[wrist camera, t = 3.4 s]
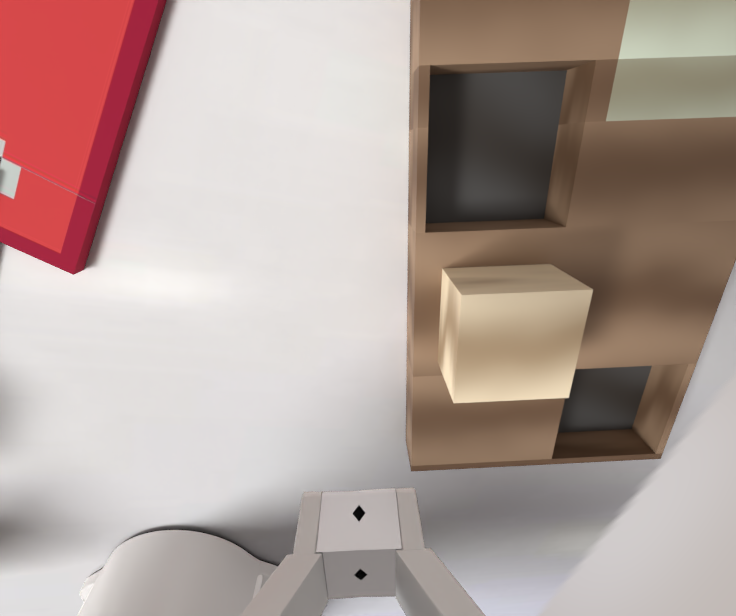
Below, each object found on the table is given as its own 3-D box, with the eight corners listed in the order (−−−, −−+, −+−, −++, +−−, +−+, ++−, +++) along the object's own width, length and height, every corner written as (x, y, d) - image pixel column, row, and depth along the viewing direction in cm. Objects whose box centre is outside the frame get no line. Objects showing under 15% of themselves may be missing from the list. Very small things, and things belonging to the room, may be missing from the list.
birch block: (534, 357, 23) (568, 397, 19) (437, 362, 23) (453, 403, 19) (550, 263, 20) (593, 289, 17) (442, 268, 20) (461, 295, 17)
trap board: (631, 429, 29) (660, 458, 27) (405, 440, 29) (411, 471, 26) (794, -73, 17) (876, -114, 15) (411, -63, 17) (422, -103, 14)
